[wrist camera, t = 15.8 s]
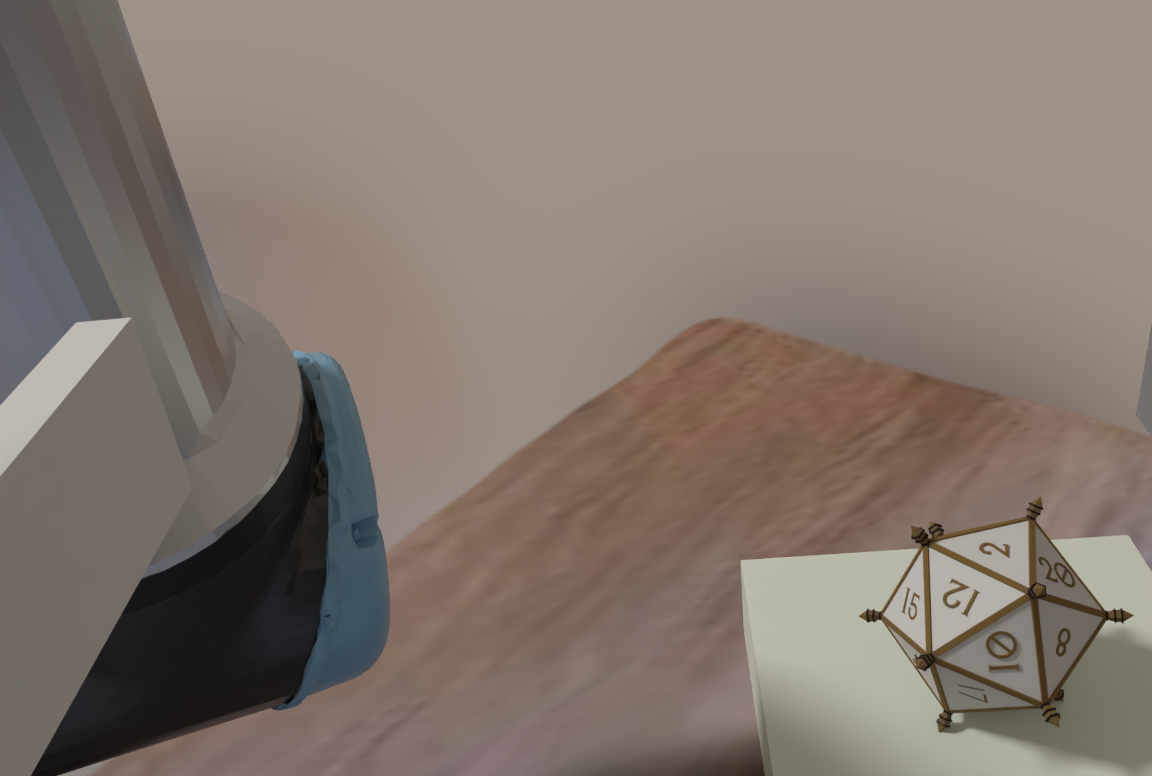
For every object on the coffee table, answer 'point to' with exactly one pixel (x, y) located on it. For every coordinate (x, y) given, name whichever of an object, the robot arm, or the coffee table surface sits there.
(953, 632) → the game die
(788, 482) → the coffee table surface
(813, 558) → the base block
